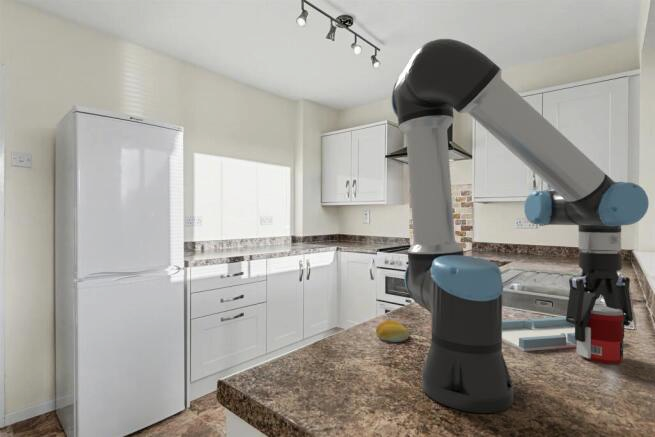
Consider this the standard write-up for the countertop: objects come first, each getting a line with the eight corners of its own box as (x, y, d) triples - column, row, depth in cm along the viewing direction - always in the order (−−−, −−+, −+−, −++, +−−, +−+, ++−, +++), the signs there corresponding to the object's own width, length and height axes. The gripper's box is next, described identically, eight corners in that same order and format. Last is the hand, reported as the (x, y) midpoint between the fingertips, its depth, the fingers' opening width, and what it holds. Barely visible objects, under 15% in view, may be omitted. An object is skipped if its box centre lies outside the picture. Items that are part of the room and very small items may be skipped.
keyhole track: (523, 351, 81) (523, 340, 81) (482, 331, 96) (482, 321, 96) (620, 343, 86) (620, 332, 86) (567, 325, 101) (567, 316, 101)
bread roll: (380, 343, 86) (380, 327, 86) (373, 332, 95) (373, 317, 95) (413, 343, 87) (413, 327, 87) (403, 331, 96) (403, 317, 96)
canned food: (632, 366, 73) (631, 313, 73) (588, 363, 74) (588, 311, 74) (610, 352, 80) (609, 304, 80) (571, 350, 82) (571, 303, 82)
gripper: (575, 253, 72) (575, 365, 71) (655, 252, 76) (656, 357, 75) (545, 250, 79) (545, 351, 79) (620, 249, 83) (620, 345, 83)
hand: (599, 354), depth 77 cm, fingers closed on canned food, 8 cm apart
